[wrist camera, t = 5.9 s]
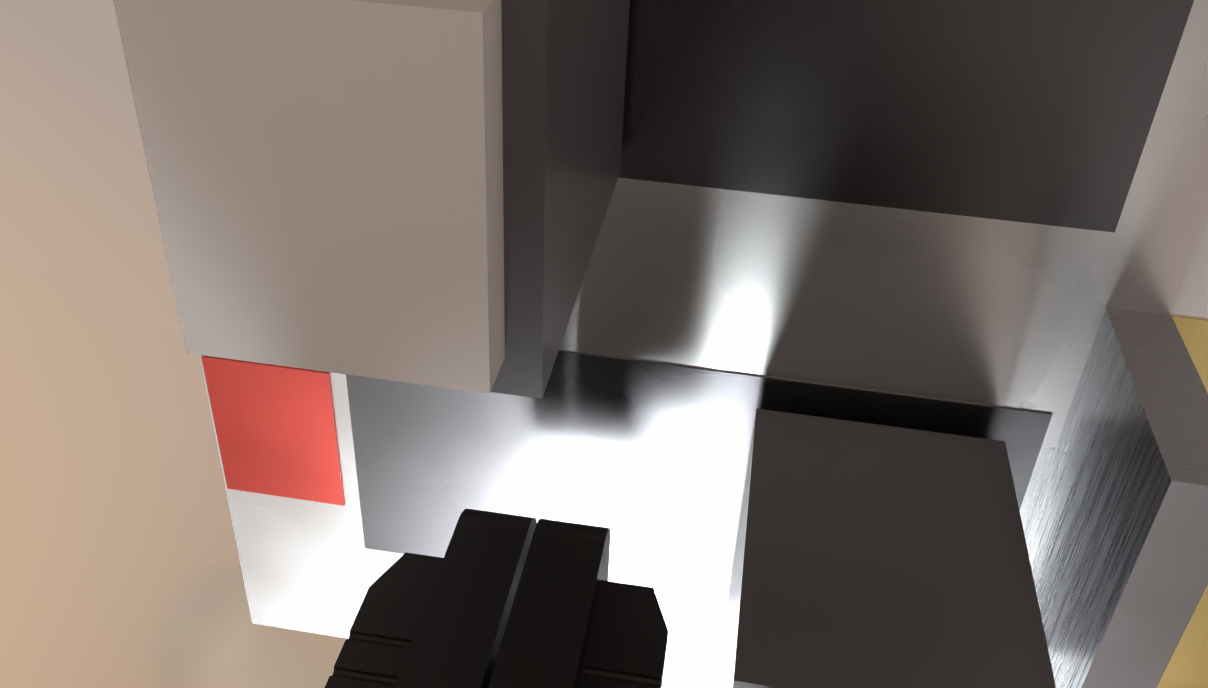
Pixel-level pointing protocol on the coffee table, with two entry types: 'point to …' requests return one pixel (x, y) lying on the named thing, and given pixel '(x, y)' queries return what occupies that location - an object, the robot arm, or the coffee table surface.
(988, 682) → the toggle
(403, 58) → the toggle
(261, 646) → the coffee table surface
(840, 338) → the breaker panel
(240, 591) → the coffee table surface
